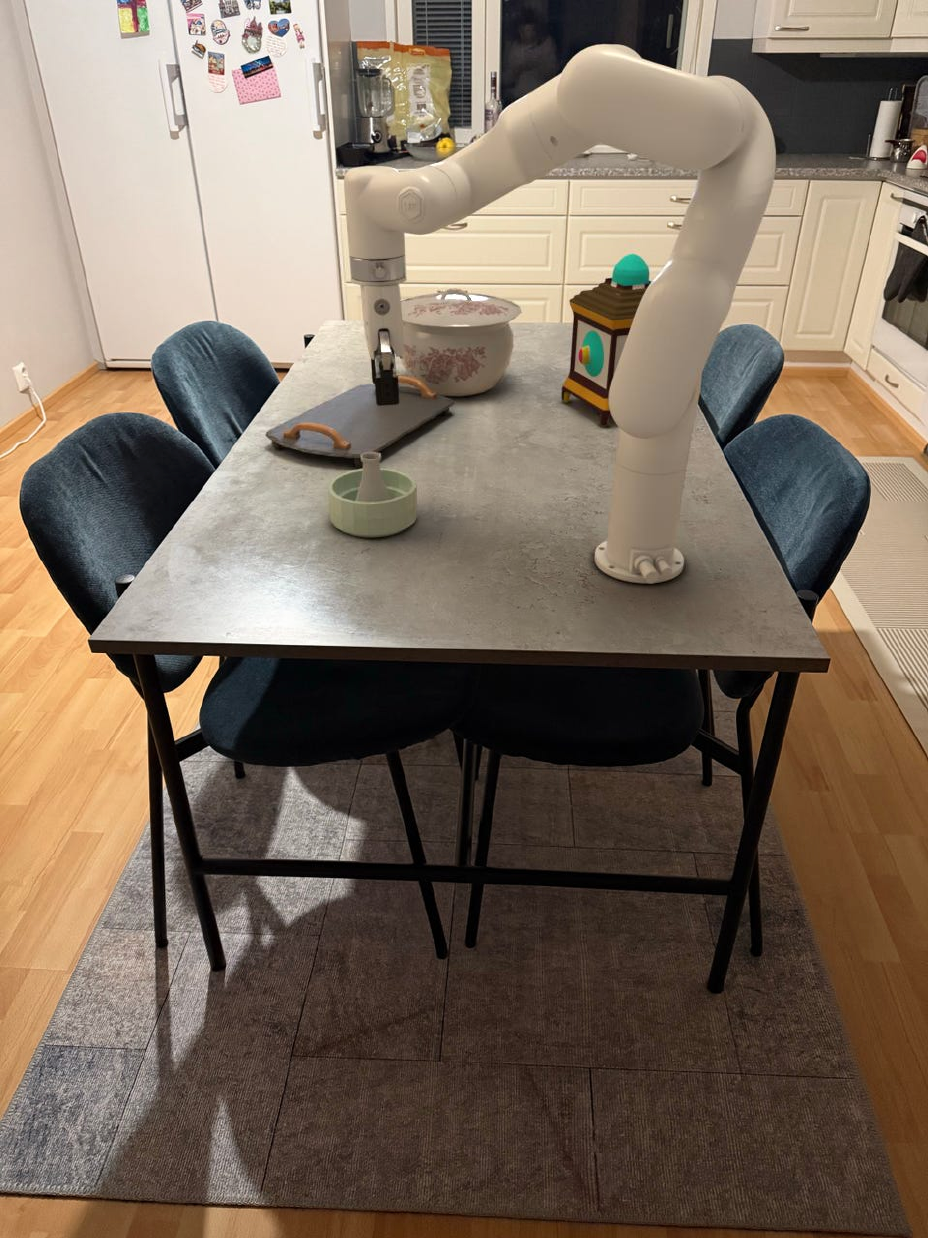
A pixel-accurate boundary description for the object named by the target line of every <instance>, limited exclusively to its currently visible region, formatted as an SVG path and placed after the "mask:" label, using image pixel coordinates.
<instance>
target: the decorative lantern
mask: <svg viewBox="0 0 928 1238" xmlns="http://www.w3.org/2000/svg"><path fill="white" fill-rule="evenodd" d="M604 279H605V280H604V282H600V283H599V284H598V286H594V287H593V288H592V289H586V290H585V289H584V290H581V291H580V292H579V293H578V294H575V295H573V297H572V298H570V299H569V306H570V308H571V311H572V314H573V318H572V319H573V320H572V336H571V349H570V362H569V363H570V365H569V373H568V376H567V377H566V379H565V380H564V382H563V384H562V387H561V395H560V396H561V401H562V403H569V401H570V398H571V395H572V396H573V397H575V398H577V399H578V400H580V401H581V402H583V403H584V404H586V405H588V406H589V407H591V408H593V409H594V410H596V411H597V412H598V413H599V416H600V417H599V418H600V426H601V427H602V428H606V427H607V425H608V423H609V419H610V416H612V415H611V412H610V408H609V390H610V386H611V382H612V379H613V376H614V374H615V371H616V368H617V365H618V362H619V360H620V357H621V354H622V351H623V348H624V346H625V343H626V340H627V337H628V334H629V331H630V329H631V326H632V323H633V320H634V317H635V315H636V312H637V309H638V307H639V304H640V302H641V299H642V297H643V295H644V293H645V291H646V290H647V288H648V286H649V285H650V284H651V282H652V281H653V280H650V267H649V266H648V264H647V263H646V261H645V260H644V259H643V258H642V257H641V256H640V255H638V254H636V253H629V254H626V255H624V256H623V257H622V258H621V259H620V260H619V261H618V262H617V263H616V264H614V266H613V270H612V274H611V277H606V278H604Z"/></svg>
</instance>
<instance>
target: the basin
mask: <svg viewBox="0 0 928 1238" xmlns="http://www.w3.org/2000/svg"><path fill="white" fill-rule="evenodd" d="M380 470H381V475H382V478H383V481H384V483H385V486H386V488H387V491H388V493H389V495H390V497H391V499H392V500H386V501H381V502H359V501H355V500H356V497H357V494H358V490H359V487H360V483H361V480H362V472H363V468H357V469H354V470H349V471H346V472H342V473H340V474H337V476H335V477H332V479H331V480H330V481H329V482H328V484H327V494H328V495H327V496H328V508H329V518H330V519H329V520H330V522H331V524H332V525H333V526H334V527H335V528H336V529H338V530H340V531H342V532H344V533H346V534H348V535H351V536H355V537H359V538H382V537H387V536H393V535H396V534H399V533H401V532H403V531H404V530H406V529H407V528H409V527H410V526H411V525H413V524H414V523H415V522H416V520H417V518H418V491H417V490H418V489H417V488H418V487H417V482H416V480H415V478H413V477H412V476H411V475H410V474H408V473H406V472H404V471H402V470H397V469H392V468H386V467H385V468H382V467H380Z"/></svg>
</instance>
